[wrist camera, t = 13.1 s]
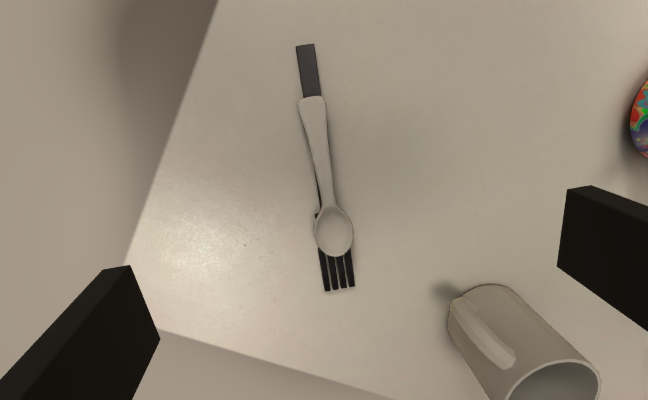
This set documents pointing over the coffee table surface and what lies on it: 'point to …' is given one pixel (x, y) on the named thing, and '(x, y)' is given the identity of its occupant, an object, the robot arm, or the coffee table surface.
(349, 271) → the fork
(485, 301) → the cup
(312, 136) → the spoon
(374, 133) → the coffee table surface
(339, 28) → the coffee table surface
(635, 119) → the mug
